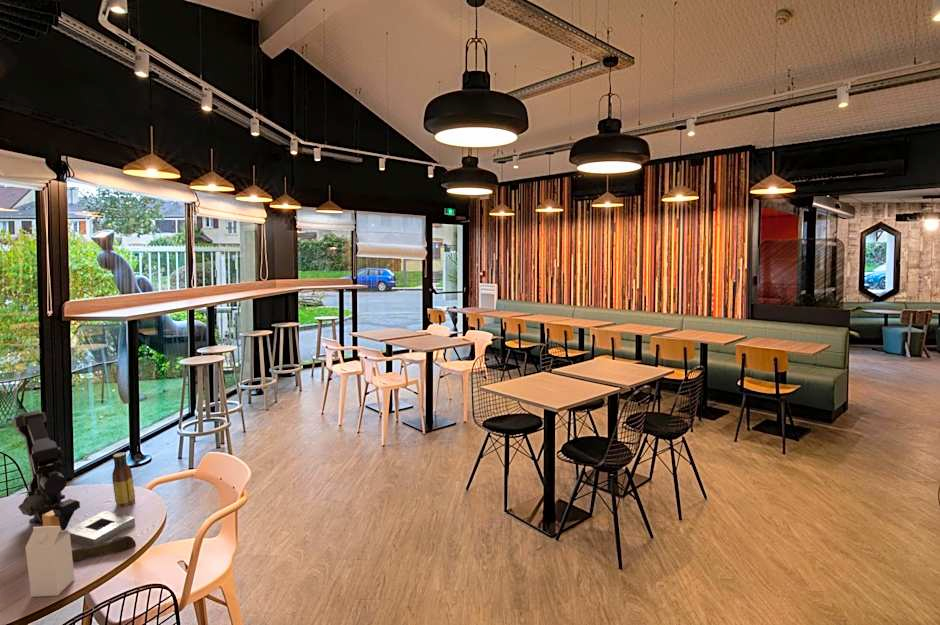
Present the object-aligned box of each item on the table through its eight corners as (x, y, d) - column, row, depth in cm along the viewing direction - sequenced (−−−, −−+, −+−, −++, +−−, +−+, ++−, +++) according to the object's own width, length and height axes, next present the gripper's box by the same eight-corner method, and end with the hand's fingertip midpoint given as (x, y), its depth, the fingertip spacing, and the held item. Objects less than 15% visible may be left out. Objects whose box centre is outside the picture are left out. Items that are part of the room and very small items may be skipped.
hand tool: (61, 567, 158) (59, 553, 158) (65, 560, 162) (63, 546, 161) (134, 553, 166) (133, 539, 166) (136, 546, 170) (135, 533, 169)
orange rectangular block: (44, 537, 174) (41, 514, 173) (57, 530, 178) (54, 509, 176) (52, 539, 173) (50, 517, 172) (65, 533, 176) (63, 511, 175)
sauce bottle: (131, 498, 200) (127, 449, 198) (138, 502, 197) (134, 453, 194) (112, 504, 195) (107, 454, 192) (119, 510, 191) (114, 458, 189)
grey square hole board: (64, 539, 172) (63, 531, 172) (105, 518, 186) (104, 510, 185) (95, 547, 168) (94, 539, 168) (134, 525, 181) (134, 517, 181)
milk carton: (49, 580, 152) (42, 520, 149) (75, 579, 153) (68, 519, 150) (31, 597, 145) (23, 534, 142) (58, 596, 146) (51, 533, 143)
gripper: (2, 490, 168) (7, 535, 170) (42, 499, 162) (47, 545, 164) (39, 475, 178) (44, 517, 181) (78, 483, 173) (83, 527, 175)
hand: (54, 527), depth 175 cm, fingers open, 9 cm apart
